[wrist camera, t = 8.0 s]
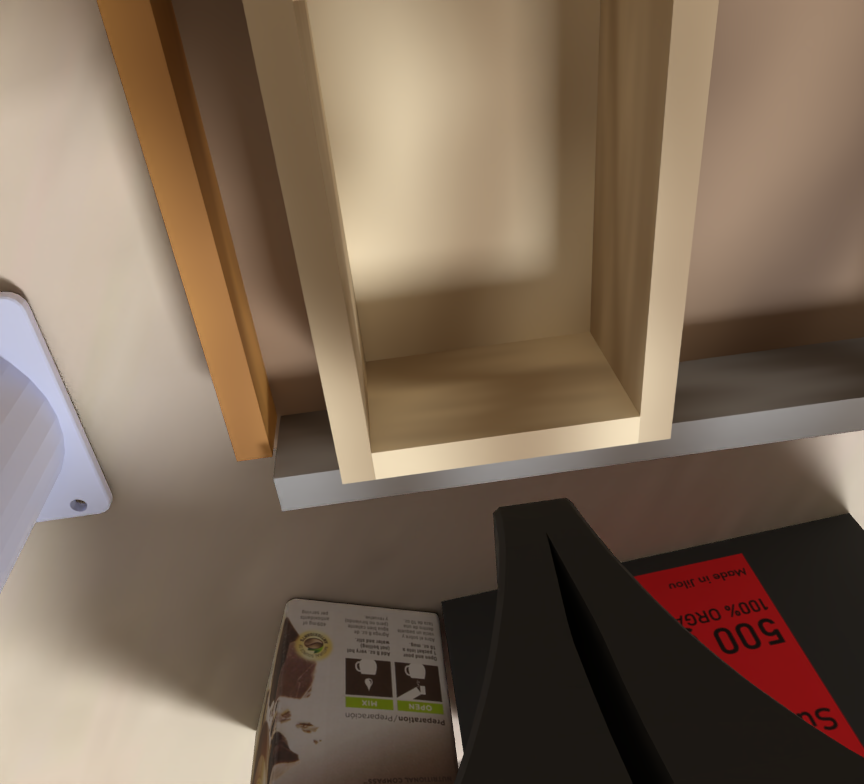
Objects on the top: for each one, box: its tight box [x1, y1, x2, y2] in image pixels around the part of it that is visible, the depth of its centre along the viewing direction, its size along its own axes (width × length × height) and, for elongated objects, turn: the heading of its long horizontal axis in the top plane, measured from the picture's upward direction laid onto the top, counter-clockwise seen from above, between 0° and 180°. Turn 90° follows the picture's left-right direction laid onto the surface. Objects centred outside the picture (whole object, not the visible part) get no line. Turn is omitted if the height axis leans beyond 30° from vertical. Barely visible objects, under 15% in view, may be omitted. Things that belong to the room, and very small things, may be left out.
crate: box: [242, 0, 719, 484], centre depth 17 cm, size 8×11×5 cm
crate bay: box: [97, 0, 864, 511], centre depth 18 cm, size 22×16×6 cm
